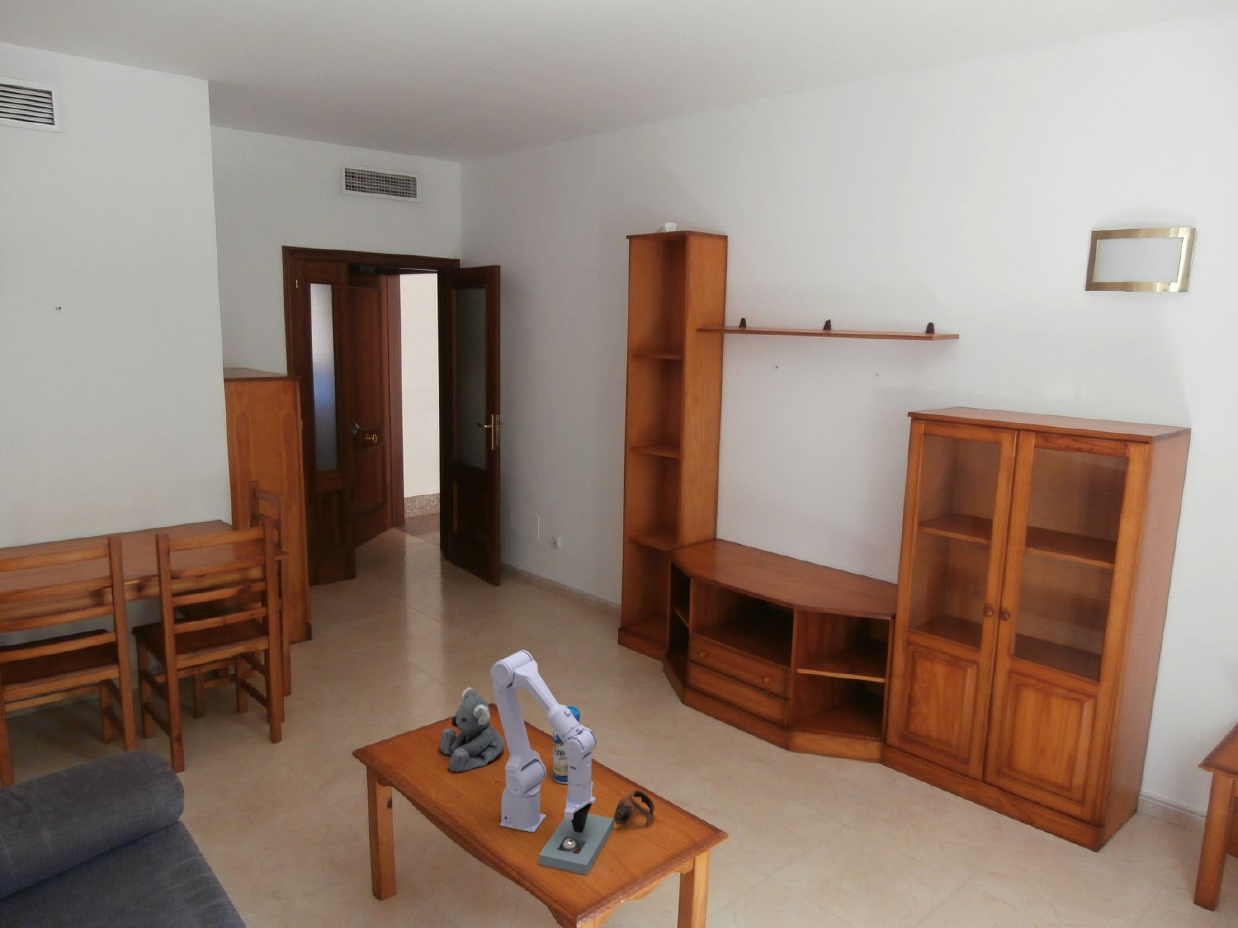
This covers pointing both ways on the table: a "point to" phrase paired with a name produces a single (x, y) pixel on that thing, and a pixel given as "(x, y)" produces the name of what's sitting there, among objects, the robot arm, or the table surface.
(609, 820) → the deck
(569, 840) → the ball
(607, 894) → the table surface
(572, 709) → the beverage bottle
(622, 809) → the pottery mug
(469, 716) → the koala plush
